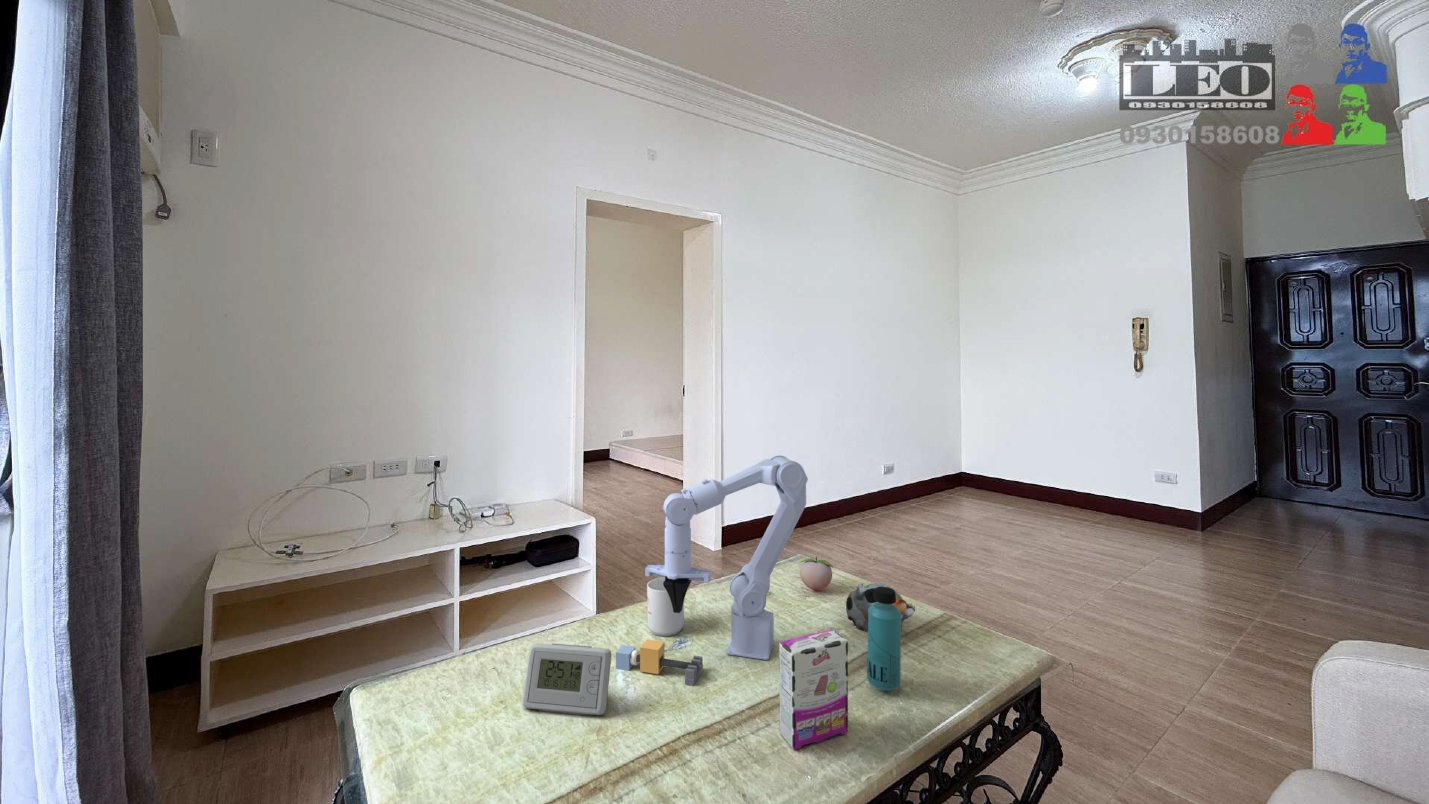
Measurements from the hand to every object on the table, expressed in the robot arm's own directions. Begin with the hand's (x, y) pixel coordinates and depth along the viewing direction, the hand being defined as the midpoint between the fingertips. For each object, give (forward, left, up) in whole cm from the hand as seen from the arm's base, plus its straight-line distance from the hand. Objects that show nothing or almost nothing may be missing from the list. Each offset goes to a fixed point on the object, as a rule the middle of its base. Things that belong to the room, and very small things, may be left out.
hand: (677, 610), depth 117 cm
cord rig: (+1, +7, -10) cm, 12 cm away
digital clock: (+14, +23, -10) cm, 28 cm away
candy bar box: (-31, +18, -10) cm, 37 cm away
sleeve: (+3, +7, -10) cm, 13 cm away
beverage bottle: (-43, +1, -10) cm, 44 cm away
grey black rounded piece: (-43, -27, -10) cm, 52 cm away
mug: (+8, -12, -10) cm, 18 cm away
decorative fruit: (-26, -44, -10) cm, 52 cm away
